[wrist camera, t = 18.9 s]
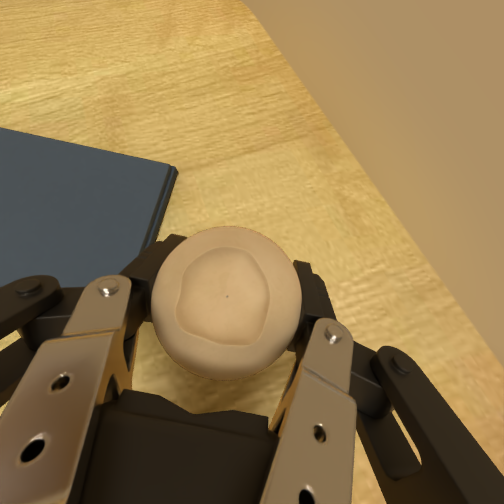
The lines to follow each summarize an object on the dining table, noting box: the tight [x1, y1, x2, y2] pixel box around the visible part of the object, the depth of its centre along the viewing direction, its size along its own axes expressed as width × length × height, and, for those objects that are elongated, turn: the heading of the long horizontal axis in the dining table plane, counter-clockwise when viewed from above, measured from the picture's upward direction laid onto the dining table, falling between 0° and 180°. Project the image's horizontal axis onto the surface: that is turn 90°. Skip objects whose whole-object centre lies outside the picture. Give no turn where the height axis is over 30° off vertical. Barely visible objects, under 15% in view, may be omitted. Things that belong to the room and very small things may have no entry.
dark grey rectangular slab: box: [0, 128, 178, 288], centre depth 15 cm, size 20×13×1 cm, turn 79°
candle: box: [151, 226, 302, 381], centre depth 11 cm, size 6×6×10 cm
